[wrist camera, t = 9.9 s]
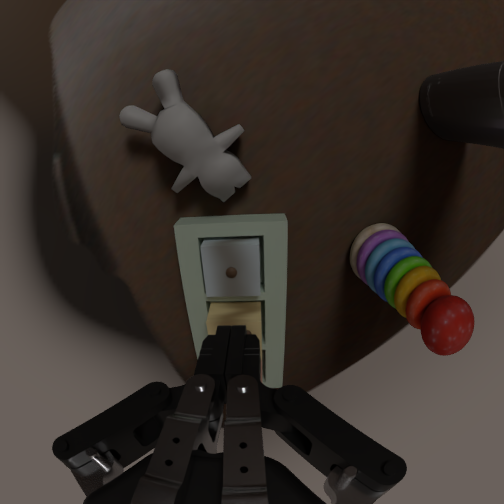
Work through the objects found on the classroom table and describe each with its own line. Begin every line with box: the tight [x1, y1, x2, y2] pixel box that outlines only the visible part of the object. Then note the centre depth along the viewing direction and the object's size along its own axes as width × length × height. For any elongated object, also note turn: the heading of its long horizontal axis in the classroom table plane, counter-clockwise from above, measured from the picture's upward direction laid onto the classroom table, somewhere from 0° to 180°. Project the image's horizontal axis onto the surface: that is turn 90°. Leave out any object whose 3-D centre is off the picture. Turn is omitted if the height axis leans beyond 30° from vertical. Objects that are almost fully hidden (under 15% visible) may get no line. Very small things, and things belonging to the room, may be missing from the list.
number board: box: [174, 214, 287, 388], centre depth 35 cm, size 12×26×3 cm, turn 2°
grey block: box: [201, 236, 261, 297], centre depth 31 cm, size 6×6×4 cm
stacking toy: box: [350, 223, 474, 355], centre depth 24 cm, size 8×8×19 cm
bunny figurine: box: [119, 69, 251, 202], centre depth 26 cm, size 10×5×15 cm
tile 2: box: [206, 302, 262, 360], centre depth 32 cm, size 6×6×4 cm
